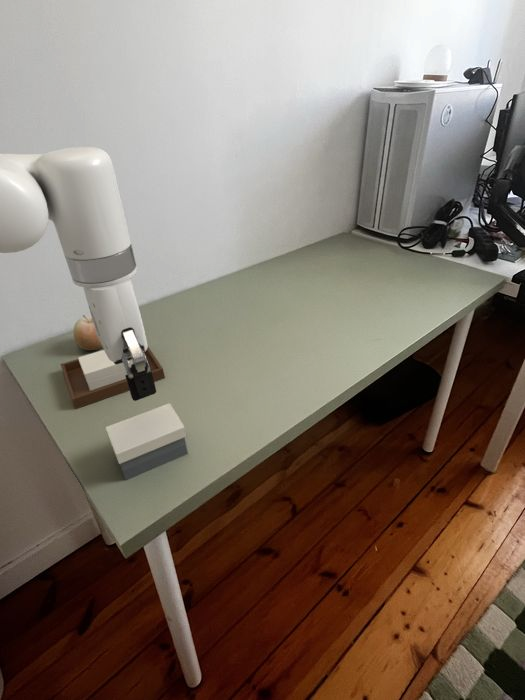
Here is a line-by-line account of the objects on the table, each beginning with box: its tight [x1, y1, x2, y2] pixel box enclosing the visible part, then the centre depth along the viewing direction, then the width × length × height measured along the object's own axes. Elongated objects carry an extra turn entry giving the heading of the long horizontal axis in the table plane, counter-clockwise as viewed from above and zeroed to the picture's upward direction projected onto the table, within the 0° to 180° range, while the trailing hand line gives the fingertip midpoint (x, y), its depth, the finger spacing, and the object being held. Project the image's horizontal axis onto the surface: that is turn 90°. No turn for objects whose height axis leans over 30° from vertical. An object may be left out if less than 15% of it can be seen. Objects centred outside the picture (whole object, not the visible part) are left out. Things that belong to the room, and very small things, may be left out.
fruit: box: [73, 314, 103, 351], centre depth 95 cm, size 8×7×8 cm
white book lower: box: [83, 370, 127, 391], centre depth 87 cm, size 10×7×2 cm, turn 120°
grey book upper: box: [119, 437, 187, 472], centre depth 67 cm, size 10×6×2 cm, turn 120°
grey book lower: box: [119, 444, 188, 481], centre depth 69 cm, size 10×6×2 cm, turn 120°
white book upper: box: [77, 349, 133, 383], centre depth 85 cm, size 10×7×2 cm, turn 120°
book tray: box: [60, 344, 166, 410], centre depth 87 cm, size 17×13×2 cm
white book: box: [104, 403, 187, 465], centre depth 66 cm, size 10×7×2 cm, turn 120°
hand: (134, 377), depth 61 cm, fingers open, 9 cm apart
